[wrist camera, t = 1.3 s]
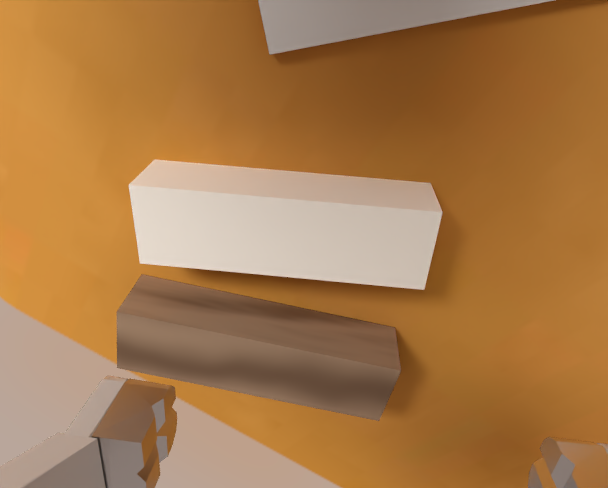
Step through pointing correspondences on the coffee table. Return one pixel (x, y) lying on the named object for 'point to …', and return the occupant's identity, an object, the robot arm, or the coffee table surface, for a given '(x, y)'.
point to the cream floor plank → (285, 223)
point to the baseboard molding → (361, 18)
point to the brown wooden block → (257, 347)
